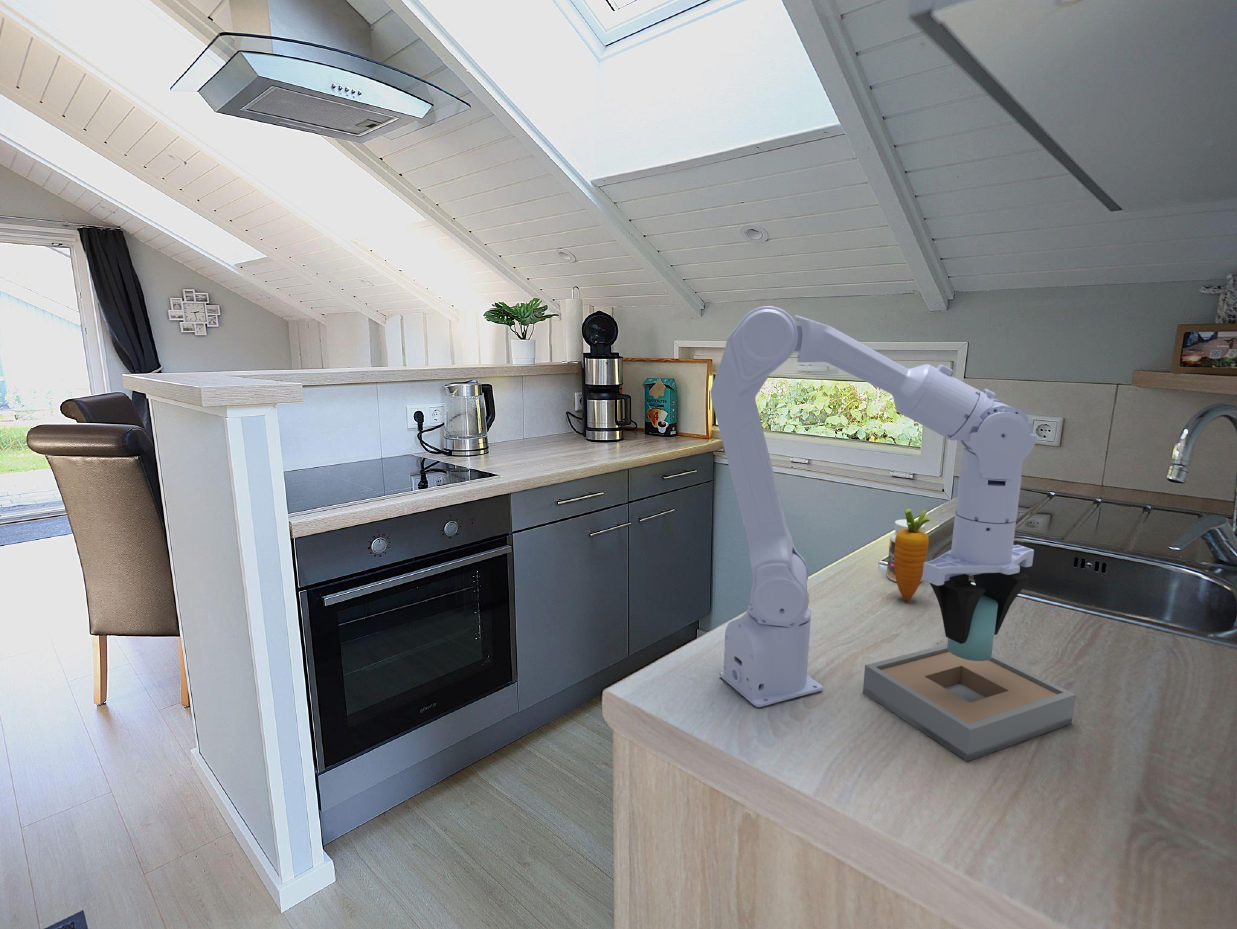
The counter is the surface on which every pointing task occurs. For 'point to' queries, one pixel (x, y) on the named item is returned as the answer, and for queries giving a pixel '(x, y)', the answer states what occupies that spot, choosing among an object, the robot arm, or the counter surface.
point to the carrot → (910, 554)
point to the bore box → (968, 700)
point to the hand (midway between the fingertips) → (971, 635)
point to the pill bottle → (890, 566)
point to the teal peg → (978, 633)
